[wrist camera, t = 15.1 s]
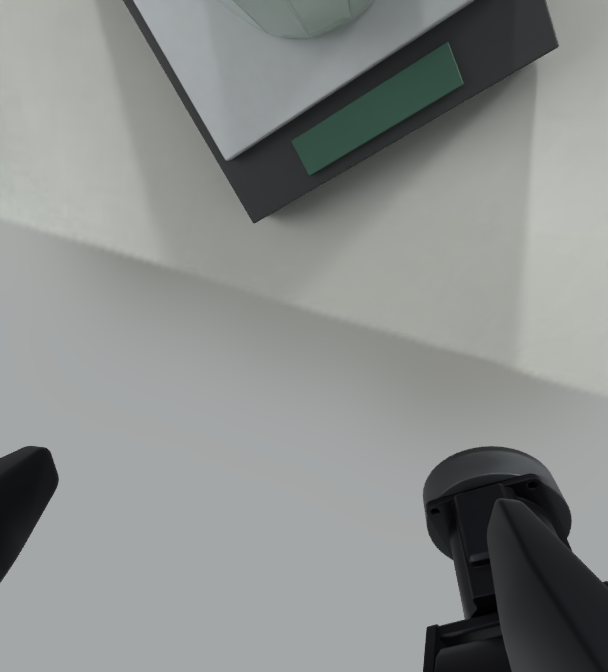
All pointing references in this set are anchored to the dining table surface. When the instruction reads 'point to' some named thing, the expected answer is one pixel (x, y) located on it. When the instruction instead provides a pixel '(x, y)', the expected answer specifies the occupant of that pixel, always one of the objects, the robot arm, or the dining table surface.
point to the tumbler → (297, 15)
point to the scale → (331, 81)
